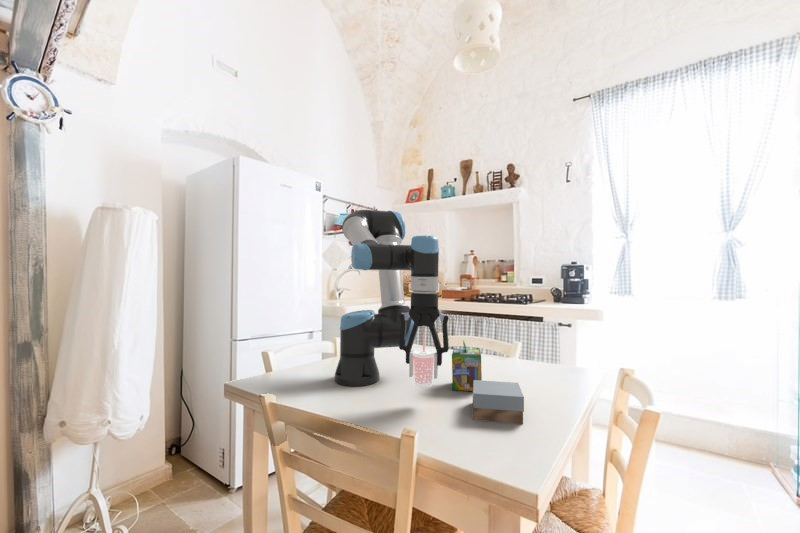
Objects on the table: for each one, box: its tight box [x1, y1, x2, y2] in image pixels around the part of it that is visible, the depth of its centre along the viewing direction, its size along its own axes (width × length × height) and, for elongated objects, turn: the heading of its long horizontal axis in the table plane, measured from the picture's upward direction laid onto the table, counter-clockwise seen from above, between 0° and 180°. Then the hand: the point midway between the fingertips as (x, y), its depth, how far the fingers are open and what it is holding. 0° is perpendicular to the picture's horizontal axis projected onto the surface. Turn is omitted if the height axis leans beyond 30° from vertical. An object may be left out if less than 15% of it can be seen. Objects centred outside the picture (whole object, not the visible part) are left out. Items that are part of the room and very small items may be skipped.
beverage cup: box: [412, 333, 436, 389], centre depth 98 cm, size 6×6×14 cm
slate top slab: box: [472, 380, 525, 413], centre depth 93 cm, size 12×12×4 cm
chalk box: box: [451, 340, 483, 392], centre depth 115 cm, size 9×9×15 cm
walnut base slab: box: [472, 406, 524, 425], centre depth 94 cm, size 12×12×4 cm
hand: (423, 376), depth 98 cm, fingers closed on beverage cup, 6 cm apart
